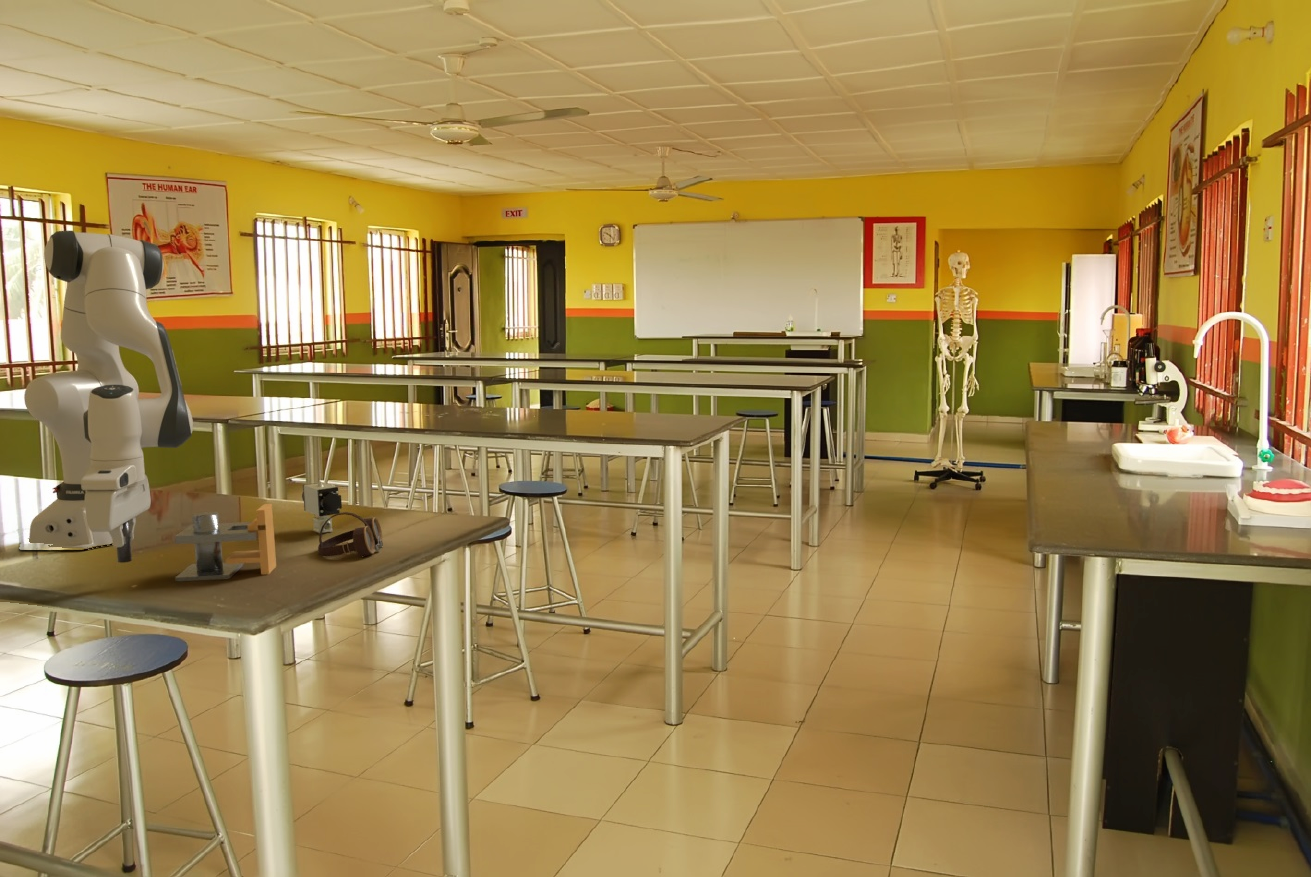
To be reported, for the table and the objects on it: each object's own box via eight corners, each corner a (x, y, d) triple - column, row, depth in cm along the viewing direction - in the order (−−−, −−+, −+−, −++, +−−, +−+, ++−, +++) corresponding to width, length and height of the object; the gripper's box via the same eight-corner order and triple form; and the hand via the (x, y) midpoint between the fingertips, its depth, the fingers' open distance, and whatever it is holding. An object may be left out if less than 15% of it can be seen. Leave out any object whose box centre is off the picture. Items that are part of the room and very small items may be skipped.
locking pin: (115, 562, 190) (112, 521, 188) (120, 559, 192) (117, 518, 191) (129, 562, 190) (126, 521, 189) (134, 559, 192) (131, 518, 191)
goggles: (376, 558, 209) (362, 512, 207) (314, 574, 208) (300, 528, 207) (389, 540, 224) (376, 498, 223) (332, 555, 224) (319, 513, 222)
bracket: (226, 576, 198) (221, 511, 196) (235, 568, 203) (230, 505, 202) (269, 574, 199) (264, 510, 197) (276, 566, 204) (271, 503, 203)
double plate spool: (175, 581, 194) (170, 521, 193) (192, 567, 204) (187, 510, 203) (258, 577, 196) (254, 517, 195) (271, 563, 206) (266, 506, 205)
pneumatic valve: (324, 537, 228) (320, 486, 227) (303, 529, 237) (299, 479, 235) (347, 533, 232) (343, 482, 230) (325, 525, 241) (322, 476, 239)
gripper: (123, 462, 198) (128, 530, 200) (76, 483, 178) (82, 558, 180) (156, 462, 199) (161, 530, 201) (113, 482, 179) (119, 557, 181)
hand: (123, 543), depth 190 cm, fingers closed on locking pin, 2 cm apart
